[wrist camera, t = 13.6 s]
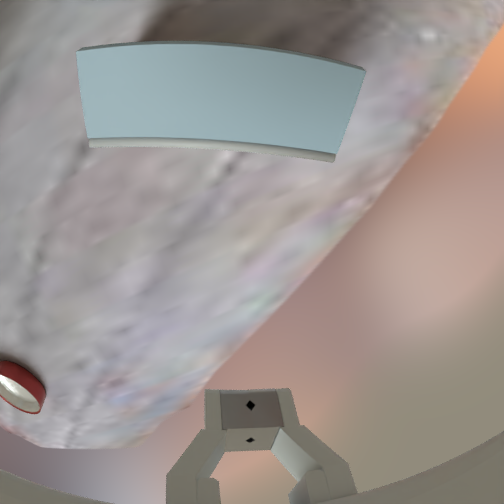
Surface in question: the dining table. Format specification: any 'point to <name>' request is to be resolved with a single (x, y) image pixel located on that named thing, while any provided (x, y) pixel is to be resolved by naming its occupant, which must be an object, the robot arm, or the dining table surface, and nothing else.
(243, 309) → the dining table surface
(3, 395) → the frying pan
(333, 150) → the cover
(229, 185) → the dining table surface
